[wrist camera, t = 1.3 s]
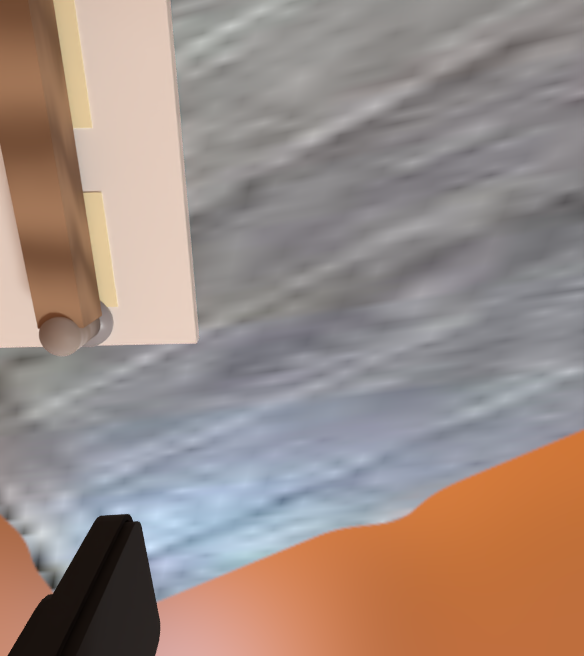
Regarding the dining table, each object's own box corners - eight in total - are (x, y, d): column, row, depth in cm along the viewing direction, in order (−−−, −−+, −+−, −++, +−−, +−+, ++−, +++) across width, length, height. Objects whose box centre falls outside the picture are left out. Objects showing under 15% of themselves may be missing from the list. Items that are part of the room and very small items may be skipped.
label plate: (-105, -69, 26) (-128, -84, 24) (164, -71, 26) (157, -86, 24) (-7, 342, 33) (-20, 349, 32) (199, 338, 34) (195, 344, 32)
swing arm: (105, 338, 32) (85, 355, 28) (64, 339, 32) (39, 356, 28) (44, -56, 24) (7, -94, 21) (-9, -56, 24) (-54, -94, 21)
